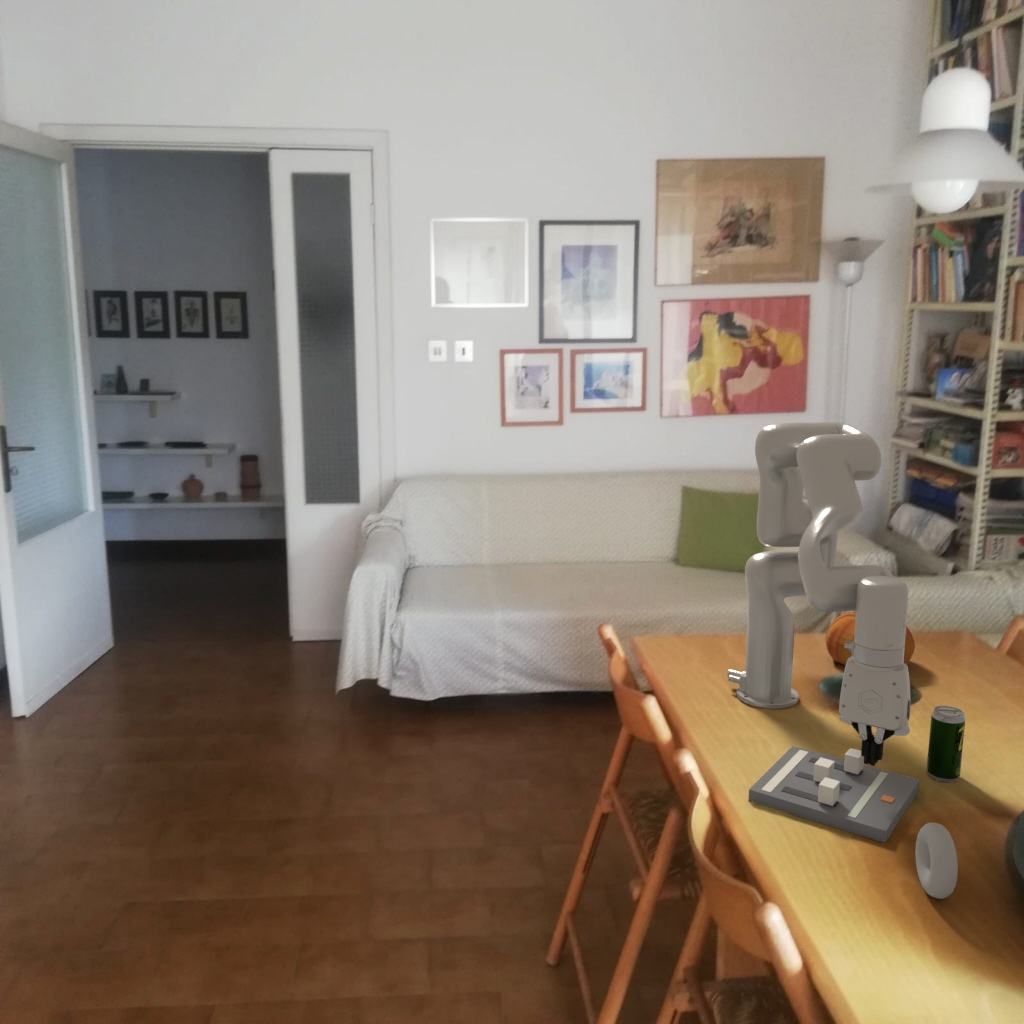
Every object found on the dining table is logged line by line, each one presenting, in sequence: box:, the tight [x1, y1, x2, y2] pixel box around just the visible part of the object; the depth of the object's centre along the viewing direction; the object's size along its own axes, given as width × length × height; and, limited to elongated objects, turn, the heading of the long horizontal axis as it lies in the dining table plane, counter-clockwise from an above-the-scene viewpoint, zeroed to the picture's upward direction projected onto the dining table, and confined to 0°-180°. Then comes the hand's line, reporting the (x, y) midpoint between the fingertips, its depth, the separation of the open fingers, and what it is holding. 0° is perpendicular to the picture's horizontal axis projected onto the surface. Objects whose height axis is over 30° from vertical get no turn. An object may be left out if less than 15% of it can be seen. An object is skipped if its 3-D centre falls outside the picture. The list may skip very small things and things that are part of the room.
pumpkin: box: [825, 611, 916, 666], centre depth 217 cm, size 19×19×15 cm
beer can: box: [926, 705, 966, 783], centre depth 164 cm, size 5×5×12 cm
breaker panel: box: [748, 745, 921, 844], centre depth 158 cm, size 22×20×5 cm
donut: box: [914, 822, 959, 900], centre depth 131 cm, size 10×4×10 cm, turn 173°
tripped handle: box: [813, 757, 835, 783], centre depth 159 cm, size 2×3×3 cm
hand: (871, 761), depth 153 cm, fingers closed
